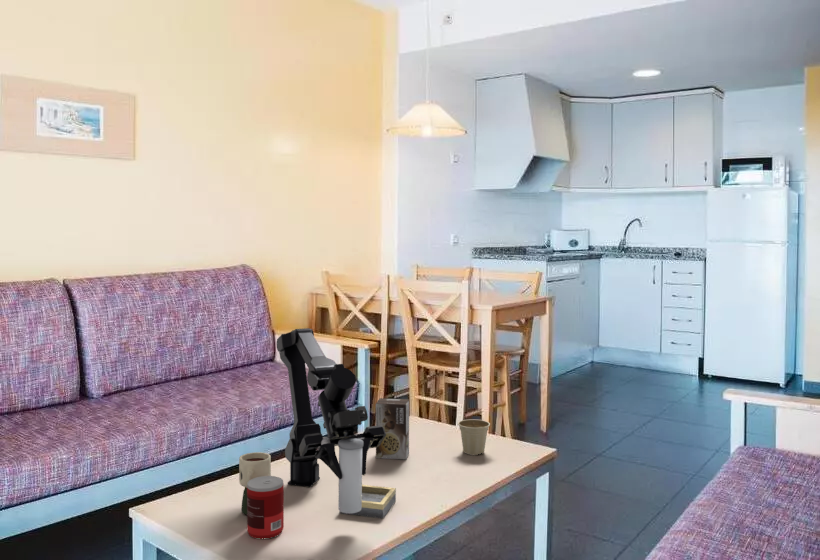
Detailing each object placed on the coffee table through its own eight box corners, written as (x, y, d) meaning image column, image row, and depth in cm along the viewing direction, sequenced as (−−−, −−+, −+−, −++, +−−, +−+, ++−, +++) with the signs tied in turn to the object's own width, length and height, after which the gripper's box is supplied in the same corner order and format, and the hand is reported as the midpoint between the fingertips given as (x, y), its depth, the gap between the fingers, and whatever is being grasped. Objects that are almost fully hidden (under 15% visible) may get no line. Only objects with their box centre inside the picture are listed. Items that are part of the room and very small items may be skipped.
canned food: (286, 524, 156) (286, 475, 155) (280, 539, 148) (280, 488, 147) (251, 524, 155) (251, 475, 155) (243, 540, 147) (243, 488, 147)
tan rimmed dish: (339, 513, 162) (339, 499, 162) (354, 496, 172) (354, 483, 172) (383, 518, 159) (383, 504, 159) (395, 501, 169) (395, 488, 169)
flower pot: (452, 448, 211) (453, 420, 210) (481, 446, 213) (482, 418, 213) (464, 458, 202) (465, 428, 201) (494, 455, 204) (495, 426, 204)
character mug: (246, 502, 167) (245, 449, 166) (275, 503, 167) (275, 449, 166) (233, 521, 157) (232, 464, 156) (265, 522, 156) (264, 465, 155)
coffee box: (409, 453, 206) (410, 398, 205) (406, 460, 200) (406, 404, 198) (379, 451, 207) (379, 397, 206) (374, 458, 201) (375, 402, 200)
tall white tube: (334, 512, 150) (334, 444, 149) (341, 502, 156) (342, 437, 154) (358, 515, 149) (359, 447, 148) (365, 504, 154) (366, 439, 153)
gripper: (303, 398, 150) (320, 465, 141) (383, 390, 158) (404, 452, 149) (292, 424, 157) (307, 489, 148) (369, 415, 166) (387, 476, 157)
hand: (352, 476), depth 150 cm, fingers closed on tall white tube, 5 cm apart
